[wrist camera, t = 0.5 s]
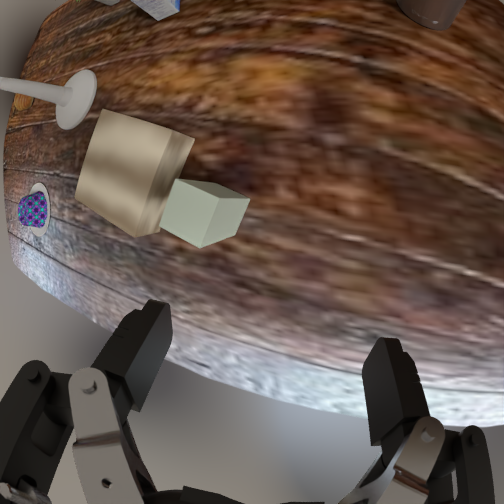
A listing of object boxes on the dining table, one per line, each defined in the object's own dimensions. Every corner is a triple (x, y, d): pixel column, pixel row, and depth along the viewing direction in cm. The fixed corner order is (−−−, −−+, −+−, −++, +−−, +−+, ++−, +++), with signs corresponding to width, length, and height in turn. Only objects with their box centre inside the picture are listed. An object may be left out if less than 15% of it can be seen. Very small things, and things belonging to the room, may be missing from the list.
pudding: (37, 245, 49) (20, 248, 44) (26, 200, 48) (9, 202, 43) (58, 219, 45) (38, 222, 40) (45, 171, 44) (26, 171, 39)
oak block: (127, 116, 36) (102, 108, 31) (196, 139, 34) (172, 130, 28) (100, 196, 40) (74, 197, 35) (160, 231, 38) (134, 237, 32)
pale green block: (216, 183, 34) (175, 178, 25) (250, 198, 33) (219, 198, 24) (202, 218, 36) (158, 225, 26) (235, 235, 35) (199, 248, 25)
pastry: (39, 88, 42) (28, 85, 38) (31, 112, 44) (20, 111, 40) (28, 87, 44) (18, 85, 40) (20, 110, 46) (10, 109, 42)
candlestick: (53, 107, 41) (-59, 94, 12) (86, 60, 37) (-29, 26, 8) (67, 142, 41) (-66, 136, 12) (105, 90, 36) (-39, 53, 8)
